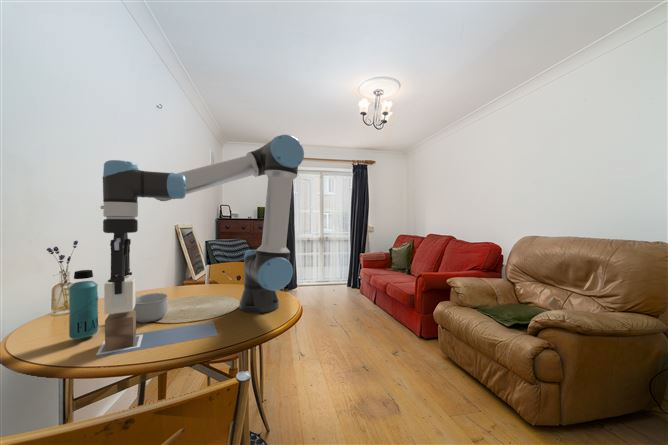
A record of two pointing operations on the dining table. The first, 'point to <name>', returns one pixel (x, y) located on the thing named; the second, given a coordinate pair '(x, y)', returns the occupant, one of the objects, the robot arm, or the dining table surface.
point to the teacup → (150, 307)
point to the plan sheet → (164, 338)
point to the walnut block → (120, 330)
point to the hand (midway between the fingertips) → (120, 302)
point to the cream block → (128, 297)
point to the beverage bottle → (83, 306)
